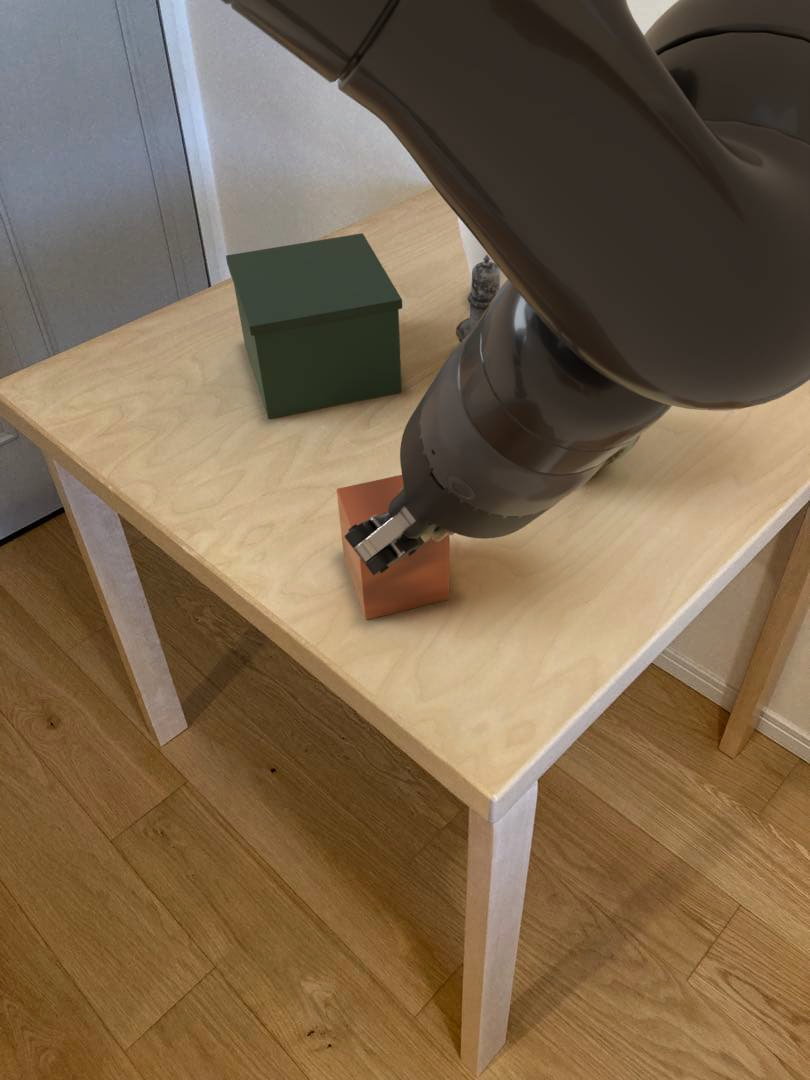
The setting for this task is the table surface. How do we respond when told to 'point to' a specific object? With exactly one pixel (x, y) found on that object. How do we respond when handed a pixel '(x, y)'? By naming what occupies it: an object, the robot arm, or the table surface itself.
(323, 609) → the table surface
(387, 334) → the box
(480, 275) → the dark grey chess piece
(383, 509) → the block
